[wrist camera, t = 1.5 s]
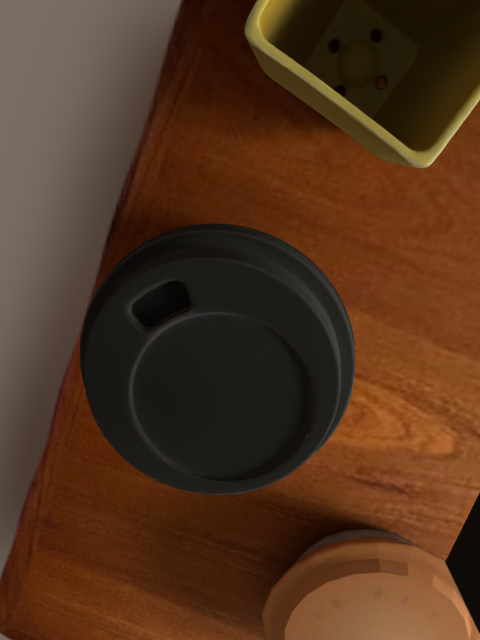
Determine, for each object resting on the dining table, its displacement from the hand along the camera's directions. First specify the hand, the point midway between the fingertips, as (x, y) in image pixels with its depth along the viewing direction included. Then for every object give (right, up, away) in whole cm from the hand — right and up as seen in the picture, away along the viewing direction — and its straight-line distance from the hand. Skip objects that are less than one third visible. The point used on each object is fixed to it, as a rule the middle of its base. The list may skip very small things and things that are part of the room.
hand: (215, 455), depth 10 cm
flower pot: (+7, +17, +13) cm, 23 cm away
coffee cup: (+1, +6, +17) cm, 18 cm away
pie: (+10, -18, +23) cm, 31 cm away
